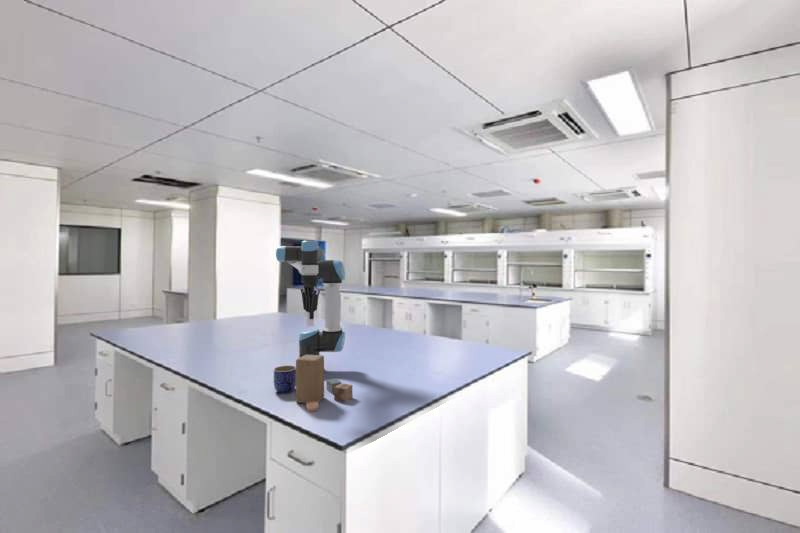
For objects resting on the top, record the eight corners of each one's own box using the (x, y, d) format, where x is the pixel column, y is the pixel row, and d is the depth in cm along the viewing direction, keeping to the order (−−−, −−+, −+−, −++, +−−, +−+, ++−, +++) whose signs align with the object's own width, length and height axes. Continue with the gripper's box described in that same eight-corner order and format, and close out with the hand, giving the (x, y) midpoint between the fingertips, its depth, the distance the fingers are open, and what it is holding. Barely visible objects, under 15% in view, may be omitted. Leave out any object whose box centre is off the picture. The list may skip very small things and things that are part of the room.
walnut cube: (334, 400, 171) (334, 387, 171) (341, 395, 177) (341, 383, 177) (345, 402, 169) (345, 389, 169) (352, 397, 174) (352, 385, 174)
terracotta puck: (304, 409, 160) (304, 402, 160) (314, 406, 164) (314, 399, 164) (310, 413, 157) (310, 406, 157) (320, 409, 160) (320, 402, 160)
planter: (295, 394, 179) (295, 371, 179) (271, 395, 177) (271, 372, 177) (297, 386, 190) (297, 364, 190) (275, 387, 188) (275, 365, 188)
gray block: (326, 390, 185) (326, 380, 185) (335, 388, 188) (335, 378, 188) (331, 394, 179) (331, 383, 179) (341, 392, 182) (341, 382, 182)
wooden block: (316, 405, 165) (315, 360, 165) (295, 403, 167) (295, 359, 167) (324, 397, 175) (324, 354, 174) (305, 395, 177) (305, 353, 176)
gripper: (295, 274, 172) (295, 325, 173) (310, 275, 163) (310, 328, 163) (309, 274, 178) (309, 323, 178) (324, 274, 168) (325, 326, 169)
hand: (310, 325), depth 171 cm, fingers closed
